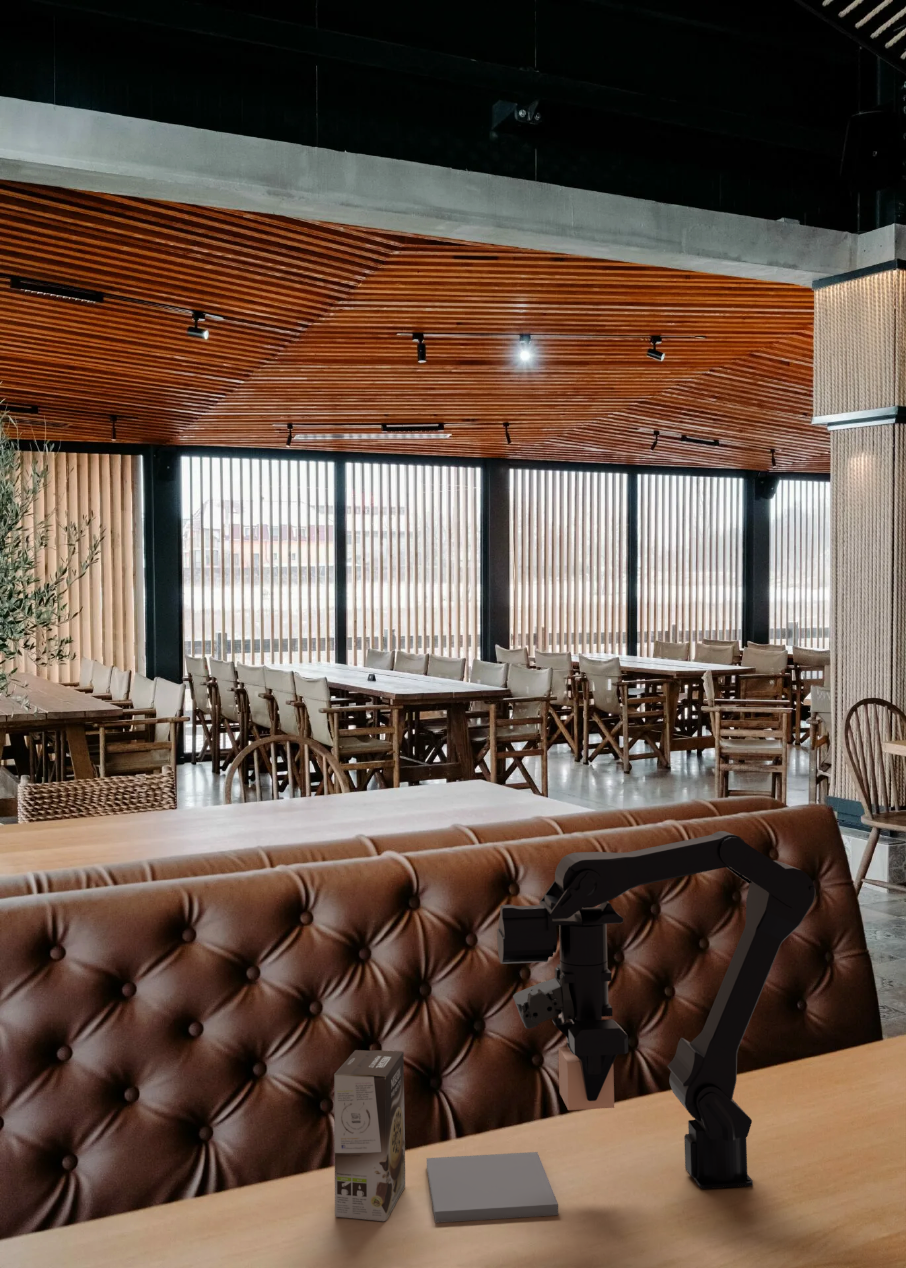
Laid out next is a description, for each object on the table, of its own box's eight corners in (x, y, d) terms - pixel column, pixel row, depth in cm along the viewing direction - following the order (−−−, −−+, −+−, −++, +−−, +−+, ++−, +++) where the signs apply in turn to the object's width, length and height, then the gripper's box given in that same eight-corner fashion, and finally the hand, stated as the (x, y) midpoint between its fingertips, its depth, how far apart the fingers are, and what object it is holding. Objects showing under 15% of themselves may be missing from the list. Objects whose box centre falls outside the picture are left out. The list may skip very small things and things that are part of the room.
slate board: (537, 1161, 137) (537, 1151, 137) (558, 1215, 123) (558, 1204, 123) (426, 1168, 136) (426, 1158, 136) (435, 1222, 122) (434, 1211, 122)
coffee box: (388, 1223, 122) (386, 1076, 123) (333, 1218, 124) (331, 1073, 124) (407, 1186, 131) (405, 1049, 132) (356, 1182, 132) (354, 1047, 133)
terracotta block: (603, 1090, 134) (602, 1045, 134) (614, 1107, 129) (613, 1060, 129) (559, 1093, 134) (558, 1047, 134) (568, 1110, 128) (567, 1062, 128)
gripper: (506, 944, 141) (509, 1067, 140) (530, 983, 122) (533, 1126, 121) (591, 941, 142) (594, 1063, 141) (627, 979, 123) (631, 1120, 122)
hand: (586, 1091), depth 131 cm, fingers closed on terracotta block, 5 cm apart
